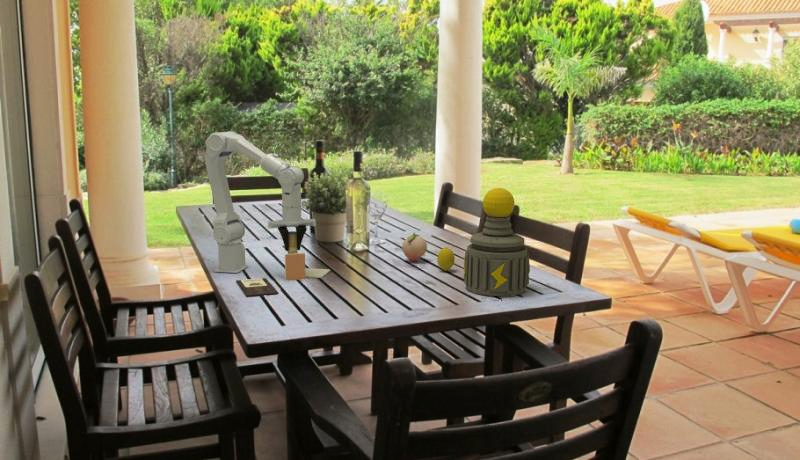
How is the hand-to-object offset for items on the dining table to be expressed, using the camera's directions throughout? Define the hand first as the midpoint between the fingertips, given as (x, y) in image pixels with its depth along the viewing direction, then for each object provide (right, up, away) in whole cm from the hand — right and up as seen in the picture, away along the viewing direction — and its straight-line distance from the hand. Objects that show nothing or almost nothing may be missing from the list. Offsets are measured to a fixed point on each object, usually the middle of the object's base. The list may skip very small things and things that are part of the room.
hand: (292, 249), depth 228 cm
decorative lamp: (+61, -11, -11) cm, 63 cm away
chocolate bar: (-9, -11, -12) cm, 19 cm away
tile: (+1, -9, -2) cm, 9 cm away
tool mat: (+6, -8, +5) cm, 11 cm away
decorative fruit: (+38, -5, +24) cm, 45 cm away
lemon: (+48, -7, +10) cm, 50 cm away
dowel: (0, -2, 0) cm, 2 cm away
